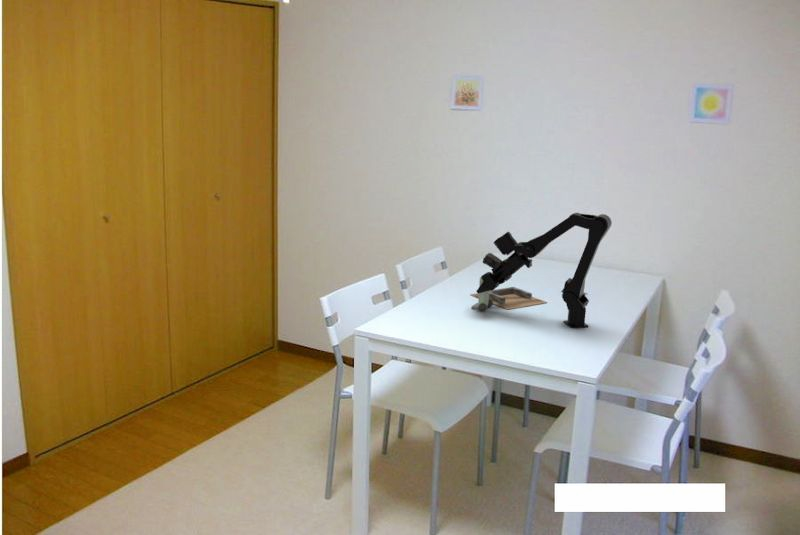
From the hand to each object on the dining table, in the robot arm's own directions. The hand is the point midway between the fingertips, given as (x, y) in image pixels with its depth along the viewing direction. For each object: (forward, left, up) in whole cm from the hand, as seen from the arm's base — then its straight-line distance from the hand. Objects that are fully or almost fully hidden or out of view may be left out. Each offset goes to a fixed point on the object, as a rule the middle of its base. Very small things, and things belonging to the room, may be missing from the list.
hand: (480, 290), depth 251 cm
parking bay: (+9, -16, -7) cm, 19 cm away
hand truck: (-1, -1, -7) cm, 7 cm away
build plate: (+14, -46, -8) cm, 48 cm away
